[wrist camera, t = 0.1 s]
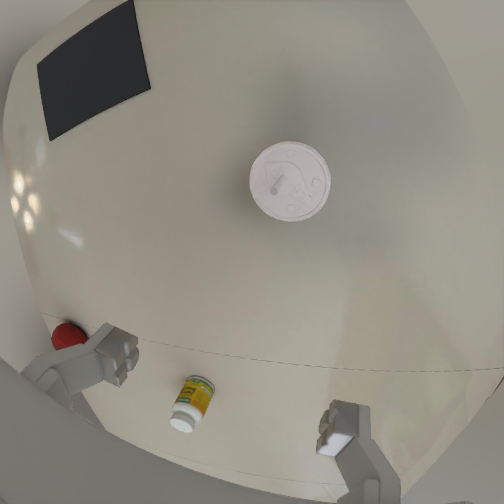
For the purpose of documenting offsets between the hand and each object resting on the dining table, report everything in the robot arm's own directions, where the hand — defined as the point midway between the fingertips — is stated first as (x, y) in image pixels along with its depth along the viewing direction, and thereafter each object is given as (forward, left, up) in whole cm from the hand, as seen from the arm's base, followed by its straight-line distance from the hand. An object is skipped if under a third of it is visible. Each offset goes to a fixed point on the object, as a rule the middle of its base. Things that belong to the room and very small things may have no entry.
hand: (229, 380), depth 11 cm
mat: (-12, -32, -25) cm, 42 cm away
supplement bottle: (+36, -8, -25) cm, 45 cm away
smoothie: (-4, -1, -25) cm, 26 cm away
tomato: (+37, -36, -25) cm, 57 cm away
